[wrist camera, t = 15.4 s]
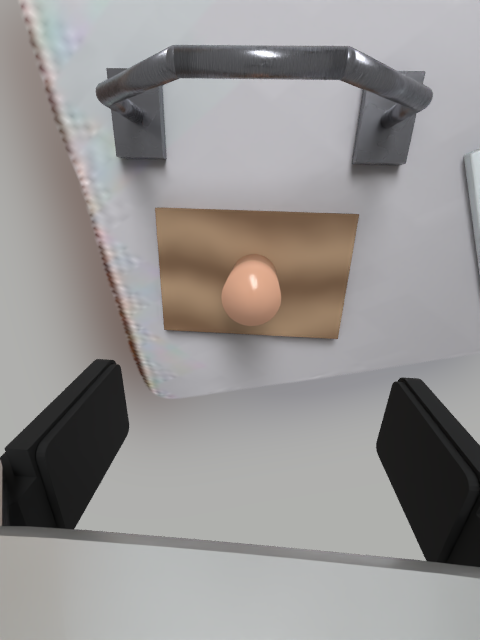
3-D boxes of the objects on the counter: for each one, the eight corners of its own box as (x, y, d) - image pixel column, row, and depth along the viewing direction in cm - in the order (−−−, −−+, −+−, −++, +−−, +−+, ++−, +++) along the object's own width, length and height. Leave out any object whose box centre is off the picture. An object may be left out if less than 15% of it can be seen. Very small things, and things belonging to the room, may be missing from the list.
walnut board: (158, 207, 27) (155, 207, 26) (355, 213, 26) (359, 214, 26) (167, 326, 32) (164, 329, 31) (335, 334, 31) (337, 338, 30)
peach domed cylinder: (231, 252, 27) (222, 266, 21) (279, 255, 27) (284, 270, 21) (230, 297, 29) (220, 324, 23) (274, 300, 29) (278, 328, 22)
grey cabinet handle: (112, 73, 24) (-10, -32, 13) (418, 76, 23) (562, -35, 12) (121, 158, 26) (24, 128, 15) (400, 164, 25) (506, 138, 14)
